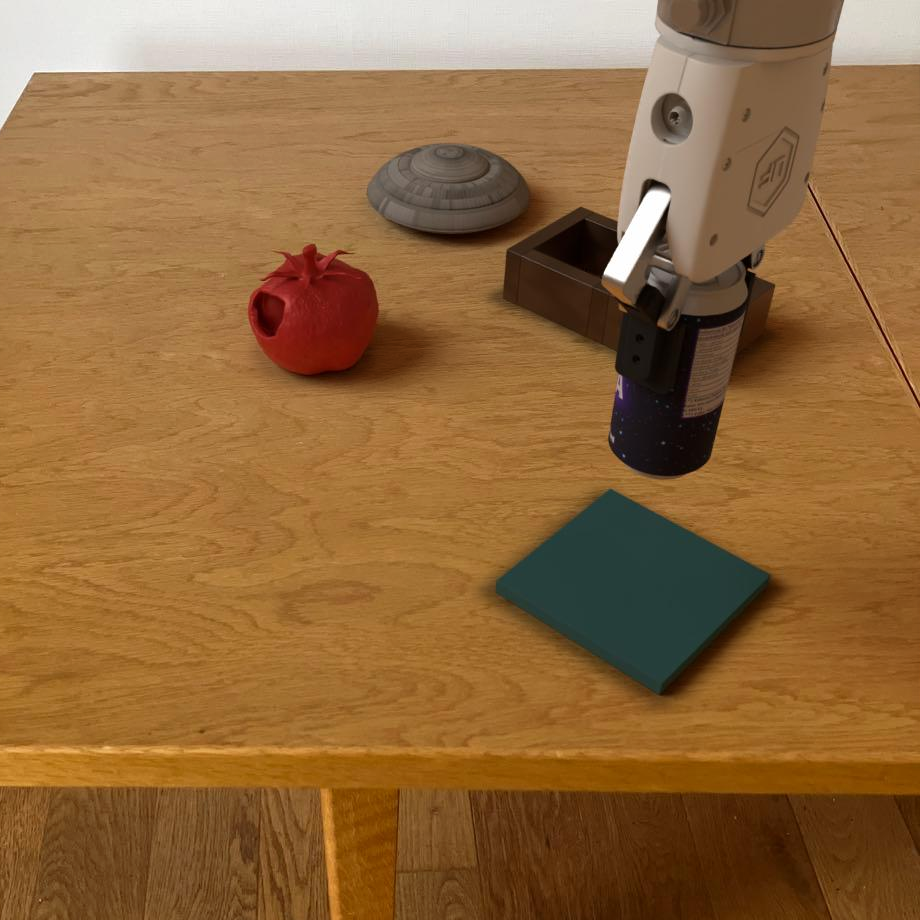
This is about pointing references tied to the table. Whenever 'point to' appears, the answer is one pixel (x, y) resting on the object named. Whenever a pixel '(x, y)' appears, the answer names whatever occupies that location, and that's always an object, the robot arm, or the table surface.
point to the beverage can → (683, 383)
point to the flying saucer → (448, 189)
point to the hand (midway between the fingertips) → (678, 352)
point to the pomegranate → (314, 313)
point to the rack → (589, 279)
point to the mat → (633, 588)
